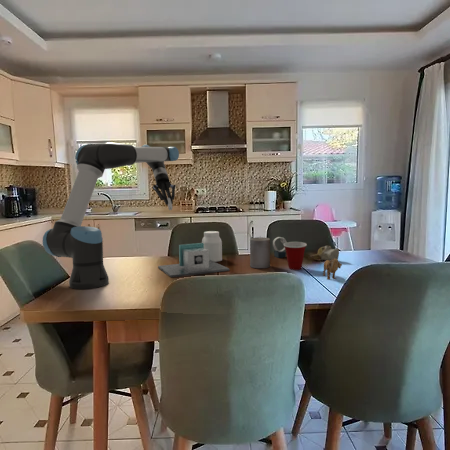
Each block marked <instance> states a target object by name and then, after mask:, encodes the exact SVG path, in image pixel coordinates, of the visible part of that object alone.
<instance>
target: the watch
mask: <svg viewBox="0 0 450 450" xmlns="http://www.w3.org/2000/svg"><path fill="white" fill-rule="evenodd" d="M278 239H280V242H281V244H282V245H283V248H282V249H280V250H279V249H278V247H277V246H276V241H278ZM284 243H287V240H286V238H284V236H283V237H281V236H277V237H275V238H274V239H273V240H272V247H273V249H274V252H273V253H274V257H275V258H277V259H284V258H283V257H286V258H287V255H286V250H285V247H284Z"/></svg>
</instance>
